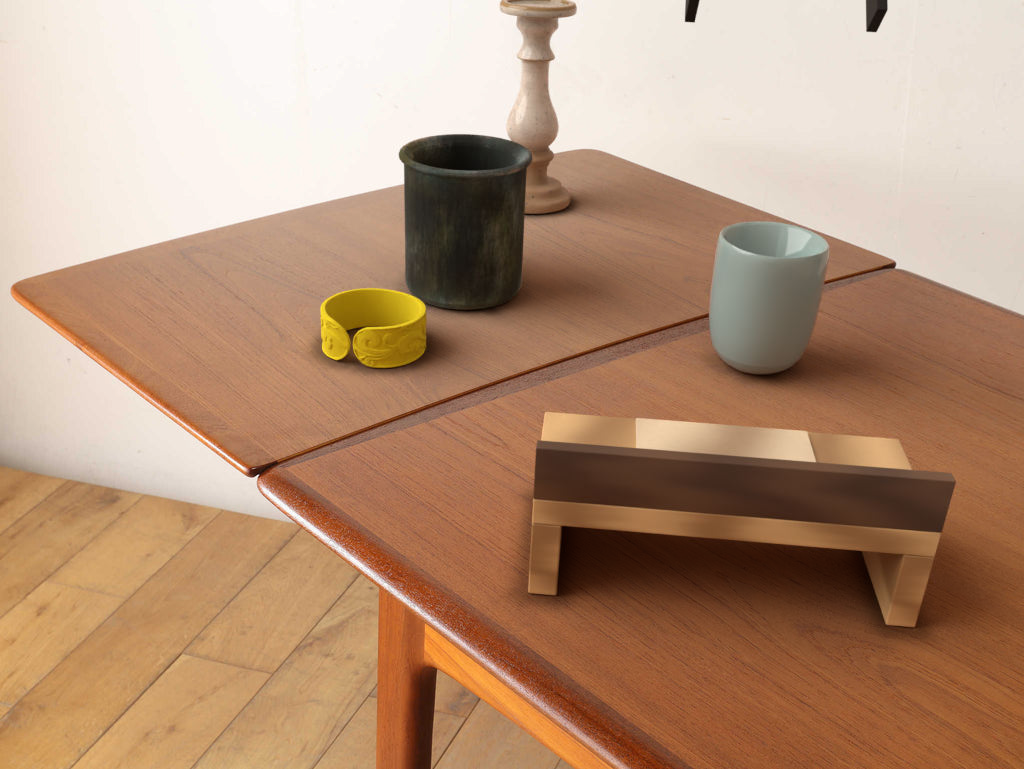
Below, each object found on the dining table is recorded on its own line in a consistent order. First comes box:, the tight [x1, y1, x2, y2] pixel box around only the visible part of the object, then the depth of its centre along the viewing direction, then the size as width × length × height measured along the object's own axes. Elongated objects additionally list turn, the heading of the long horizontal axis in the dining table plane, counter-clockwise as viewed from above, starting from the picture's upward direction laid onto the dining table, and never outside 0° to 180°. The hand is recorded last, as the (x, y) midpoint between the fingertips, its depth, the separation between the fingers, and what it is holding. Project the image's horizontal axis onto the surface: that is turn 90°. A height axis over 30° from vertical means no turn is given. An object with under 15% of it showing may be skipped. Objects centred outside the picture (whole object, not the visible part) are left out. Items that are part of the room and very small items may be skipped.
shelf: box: [527, 411, 957, 628], centre depth 57 cm, size 20×9×9 cm, turn 85°
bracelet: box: [319, 287, 427, 369], centre depth 80 cm, size 7×8×3 cm
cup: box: [708, 220, 830, 376], centre depth 78 cm, size 8×8×10 cm
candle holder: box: [498, 0, 578, 215], centre depth 108 cm, size 9×9×20 cm
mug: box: [398, 133, 532, 311], centre depth 90 cm, size 11×15×12 cm
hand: (784, 16), depth 78 cm, fingers open, 13 cm apart
